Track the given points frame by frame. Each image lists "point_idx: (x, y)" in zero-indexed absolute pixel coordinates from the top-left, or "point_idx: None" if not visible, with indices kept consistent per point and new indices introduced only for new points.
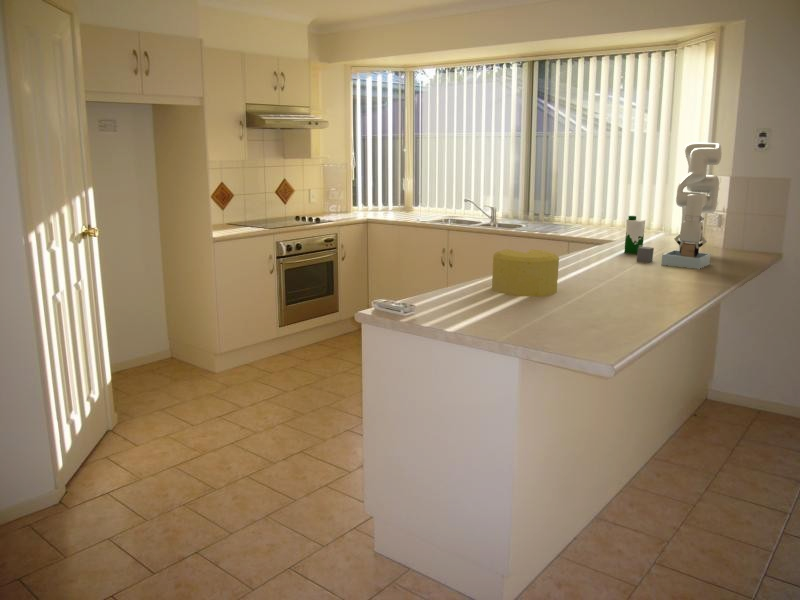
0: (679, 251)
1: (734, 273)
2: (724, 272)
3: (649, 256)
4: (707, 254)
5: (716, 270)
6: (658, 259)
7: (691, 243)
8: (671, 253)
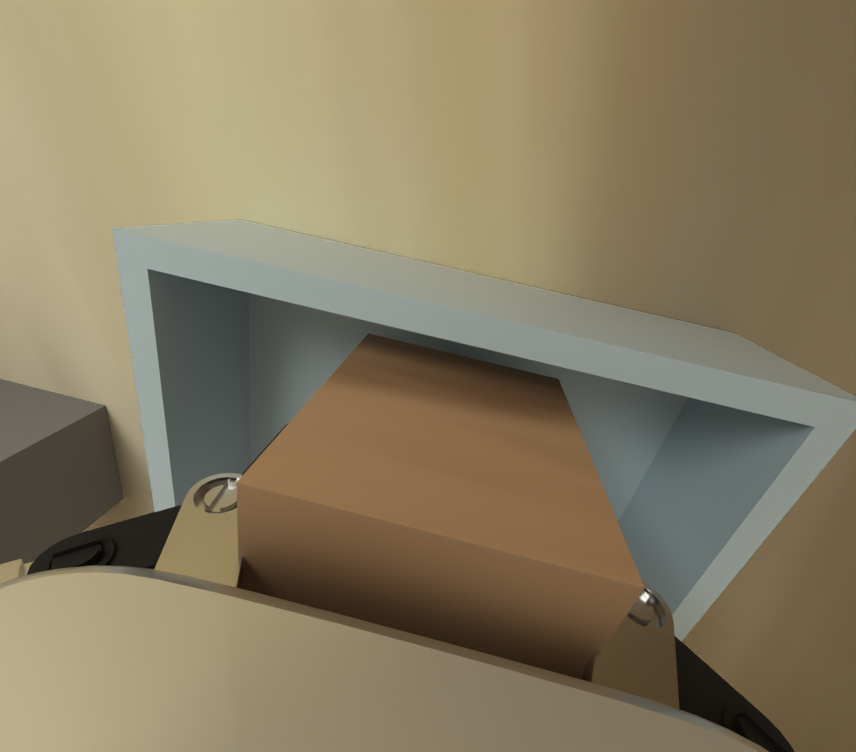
0: (245, 287)
1: (851, 707)
2: (764, 691)
3: (64, 533)
4: (787, 418)
5: (713, 637)
6: (86, 239)
7: (434, 572)
8: (188, 414)
